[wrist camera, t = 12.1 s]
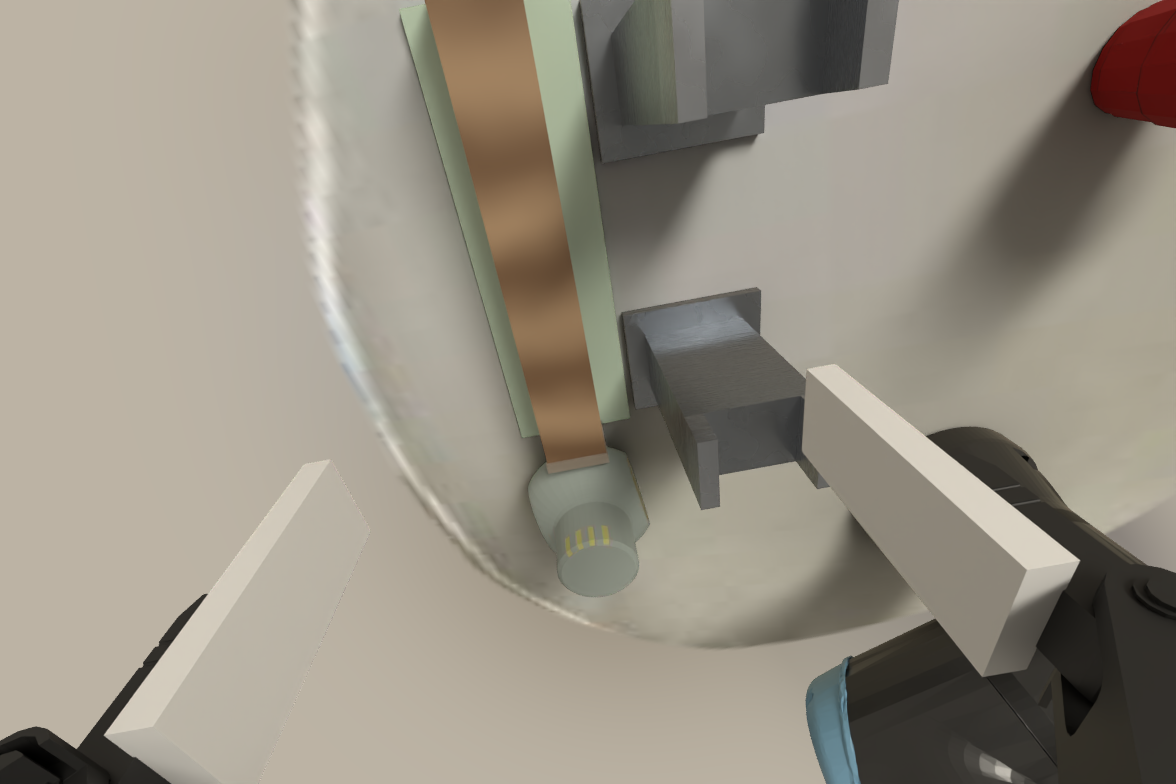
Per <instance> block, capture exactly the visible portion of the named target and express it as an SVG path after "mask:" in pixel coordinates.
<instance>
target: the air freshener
mask: <svg viewBox="0 0 1176 784" xmlns="http://www.w3.org/2000/svg"><path fill="white" fill-rule="evenodd" d="M607 451H608V457H609V462H610V463H605V464H599V465H594V466H589V467H583V468H578V469H572V470H567V471H561V472H556V473H550V474H548V471H547V467H546V462H545V463H544V464H543V465H542V466H541V467H540V468H539V469H538V470H537V471H536V473H535V474H534V475H533V477H532V479H531V481H530V483H529V485H528V494H529V499H530V503H531V507H532V510H533V513H534V516H535V519H536V521H537V524H538V526H539V529H540V531H541V533H542V535H543V537H544V539H545V540H546V542H547V544H548V545H549V547H550V548H551V549H552V550H553V551H554V552H556V553H557V573H558V577H559V580H560V581H561V583H562V584H563V585H564V586H565V587H566V588H567V589H569V590H570V591H572V592H574V593H576V594H578V595H582V596H586V597H603V596H608V595H612V594H614V593H617V592H619V591H621V590H622V589H624V588H625V587H626V586H628V585H629V584H630V583H631V582H632V581H633V579H634V578H635V577H636V575H637V573H638V569H639V560H638V555H637V550H636V545H635V542H636V541H637V540H638V539H639V538H640V537H641V536H642V535H643V534H644V533H645V531H646V530H647V528H648V527H649V525H650V522H649V518H648V515H647V511H646V508H645V505H644V502H643V499H642V496H641V493H640V490H639V487H638V484H637V481H636V478H635V475H634V473H633V470H632V467H631V465H630V462H629V460H628V457H627V455H626V453H625V452H622V451H620V450H617V449H615V448H610V447H607Z"/></svg>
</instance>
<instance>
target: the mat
mask: <svg viewBox="0 0 1176 784" xmlns="http://www.w3.org/2000/svg"><path fill="white" fill-rule="evenodd" d="M524 6H525V11H526V17H527V22H528V28H529V33H530V39H531V44H532V49H533V55H534V60H535V66H536V71H537V77H538V82H539V88H540V93H541V99H542V104H543V109H544V115H545V120H546V126H547V131H548V137H549V142H550V148H551V153H552V159H553V164H554V170H555V175H556V180H557V186H558V191H559V197H560V202H561V208H562V213H563V219H564V224H565V230H566V235H567V241H568V246H569V251H570V257H571V262H572V268H573V273H574V279H575V284H576V290H577V295H578V301H579V306H580V312H581V317H582V322H583V328H584V333H585V339H586V344H587V350H588V355H589V361H590V366H591V372H592V377H593V383H594V388H595V393H596V399H597V404H598V410H599V415H600V420H601V421H602V423H608V422H613V421H619V420H624V419H630V413H629V406H628V399H627V392H626V385H625V378H624V371H623V364H622V357H621V350H620V343H619V336H618V329H617V322H616V315H615V308H614V301H613V294H612V287H611V280H610V273H609V266H608V259H607V252H606V245H605V238H604V231H603V224H602V217H601V210H600V203H599V196H598V189H597V182H596V175H595V168H594V161H593V154H592V147H591V140H590V133H589V126H588V119H587V112H586V105H585V98H584V91H583V84H582V77H581V70H580V63H579V56H578V49H577V42H576V35H575V28H574V21H573V14H572V7H571V0H524ZM399 11H400V15H401V18H402V22H403V25H404V29H405V32H406V36H407V39H408V43H409V46H410V50H411V53H412V57H413V60H414V63H415V67H416V70H417V74H418V77H419V81H420V84H421V88H422V91H423V95H424V98H425V102H426V105H427V109H428V112H429V116H430V119H431V123H432V126H433V130H434V133H435V137H436V140H437V144H438V147H439V150H440V154H441V157H442V161H443V164H444V168H445V171H446V175H447V178H448V182H449V185H450V189H451V192H452V196H453V199H454V203H455V206H456V210H457V213H458V217H459V220H460V224H461V227H462V230H463V234H464V237H465V241H466V244H467V248H468V251H469V255H470V258H471V262H472V265H473V269H474V272H475V276H476V279H477V283H478V286H479V290H480V293H481V297H482V300H483V304H484V307H485V311H486V314H487V317H488V321H489V324H490V328H491V331H492V335H493V338H494V342H495V345H496V349H497V352H498V356H499V359H500V363H501V366H502V370H503V373H504V377H505V380H506V384H507V387H508V391H509V394H510V397H511V401H512V404H513V408H514V411H515V415H516V418H517V422H518V425H519V429H520V432H521V436H522V438H526V437H531V436H537V435H540V434H539V430H538V426H537V422H536V418H535V415H534V411H533V407H532V403H531V400H530V396H529V392H528V388H527V385H526V381H525V377H524V373H523V369H522V366H521V362H520V358H519V354H518V351H517V347H516V343H515V339H514V336H513V332H512V328H511V324H510V320H509V317H508V313H507V309H506V305H505V302H504V298H503V294H502V290H501V287H500V283H499V279H498V275H497V271H496V268H495V264H494V260H493V256H492V253H491V249H490V245H489V241H488V238H487V234H486V230H485V226H484V222H483V219H482V215H481V211H480V207H479V204H478V200H477V196H476V192H475V189H474V185H473V181H472V177H471V173H470V170H469V166H468V162H467V158H466V155H465V151H464V147H463V143H462V140H461V136H460V132H459V128H458V124H457V121H456V117H455V113H454V109H453V106H452V102H451V98H450V94H449V91H448V87H447V83H446V79H445V75H444V72H443V68H442V64H441V60H440V57H439V53H438V49H437V45H436V42H435V38H434V34H433V30H432V26H431V23H430V19H429V15H428V11H427V8H426V4H423V5H418V6H413V7H408V8H403V9H399Z"/></svg>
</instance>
